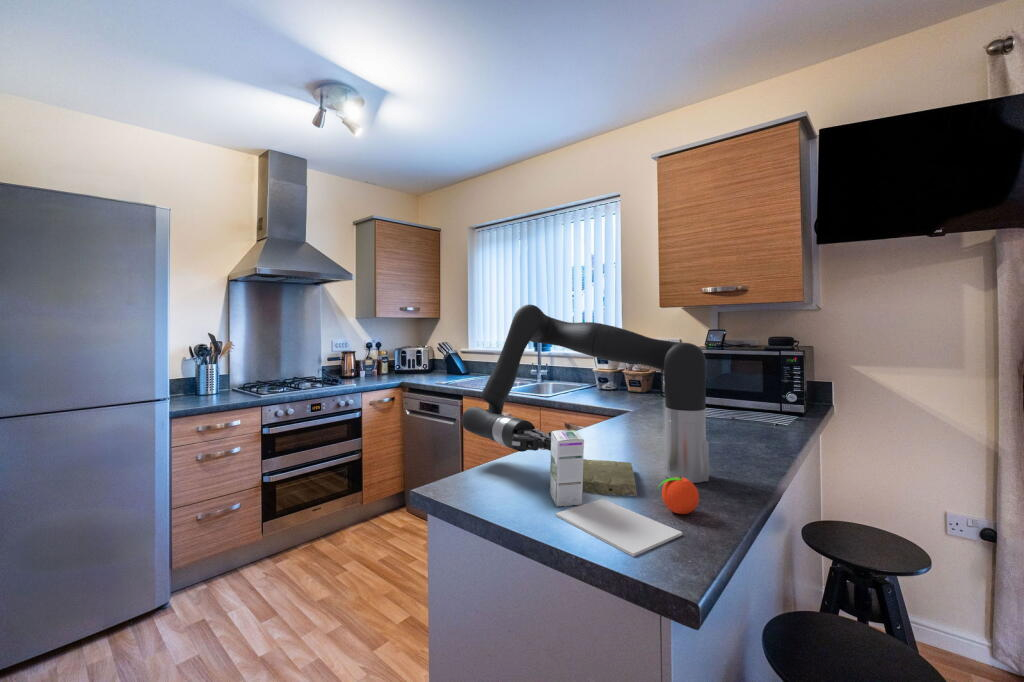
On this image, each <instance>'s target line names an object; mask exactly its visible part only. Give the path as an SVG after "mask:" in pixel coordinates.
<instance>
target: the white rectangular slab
mask: <svg viewBox="0 0 1024 682" xmlns="http://www.w3.org/2000/svg"><path fill="white" fill-rule="evenodd" d="M554 515H555V517H557V518H558V517H559V519H560V518H561V519H560V520H562V519H563V521H564V522H566V521H567V522H566V523H568V522H569V523H568V524H570V525H572V526H573V527H576V528H577V527H578V529H580V530H582V531H583V532H585V533H587V534H590V535H591V536H593V537H595V538H597V539H599V540H600V541H602V542H605V543H606V544H608V545H610V546H612V547H614V548H615V549H617V550H620V551H621V552H624V553H626V555H629V556H631V557H633V558H634V557H637V556H638V555H640V554H642V553H645V552H648V551H649V550H651V549H655V548H657V547H659V546H660V545H661V546H662V545H663V544H665V543H668V542H669V541H672V540H674V539H676V538H678V537H681V536H683V531H681V530H678V529H676V528H673V527H671V526H668V525H666V524H663V523H661V522H659V521H656V520H654V519H652V518H649V517H647V516H644V515H642V514H640V513H638V512H635V511H633V510H629V509H628V508H626V507H622V506H620V505H618V504H616V503H613V502H611V501H608V500H606V499H604V498H601V499H600V498H599V499H597V500H594V501H592V502H588V503H585V504H582V505H577V506H573V507H571V508H568V509H564V510H562V511H558V512H555V514H554Z"/></svg>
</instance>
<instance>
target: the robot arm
mask: <svg viewBox="0 0 1024 682" xmlns="http://www.w3.org/2000/svg"><path fill="white" fill-rule="evenodd" d="M530 342H531V343H537V344H544V345H545V344H546V345H552V346H557V347H558V346H559V347H561V348H565V349H567V350H570V351H574V352H575V353H580V354H584V355H587V356H590V357H593V358H596V359H601V360H604V361H608V362H615V363H616V362H617V363H624V364H634V365H641V366H647V367H651V368H655V369H658V370H661V371H663V381H664V384H663V385H664V386H663V388H664V400H665V401H664V403H665V406H664V409H665V412H664V413H665V416H664V417H665V420H664V422H665V423H664V425H665V428H664V431H665V434H664V435H665V440H664V441H665V452H664V453H665V458H664V459H665V467H664V469H665V471H664V472H665V474H664V475H665V477H667V479H668V478H674V477H682V478H686V479H688V480H689V481H691V482H692V483H693V484H698V483H703V482H709V481H710V480H709V479H710V477H709V475H710V474H709V472H710V470H709V467H710V466H709V465H710V463H709V462H710V461H709V460H710V459H709V458H710V457H709V456H710V455H709V452H710V451H709V450H710V446H709V445H710V444H709V441H708V440H707V438H706V434H707V433H706V427H707V426H706V421H707V420H706V419H707V418H706V411H707V410H706V409H707V408H706V407H707V406H706V401H707V399H706V398H707V396H706V395H707V394H706V392H707V391H706V388H707V387H706V386H707V385H706V382H707V381H706V379H707V378H706V377H707V376H706V375H707V374H706V373H707V372H706V371H707V370H706V369H707V367H706V356H705V354H704V351H703V350H702V349H701V348H700V347H699V346H698V345H696V344H693V343H690V342H678V341H669V340H662V339H656V338H651V337H648V336H645V335H642V334H639V333H637V332H634V331H630V330H629V329H625V328H622V327H621V328H620V327H617V326H614V325H609V324H606V323H599V322H591V321H588V322H587V321H584V322H570V321H564V320H561V319H556V318H554V317H551V316H549V315H547V314H545V313H544V312H543V311H542V309H540V308H539V307H538V306H537V305H533V304H525V305H522V306H521V307H519V309H517V310H516V312H515V313H514V315H513V317H512V321H511V324H510V326H509V330H508V334H507V337H506V339H505V342H504V344H503V346H502V349H501V352H500V355H499V356H498V359H497V362H496V364H495V366H494V368H493V369H492V372H491V374H490V376H489V377H488V380H487V382H486V384H485V385H484V387H483V390H482V391H481V394H480V396H481V398H482V400H484V401H485V402H486V403H487V404H488V409H487V410H486V409H484V408H481V407H478V406H470V407H469V408H467V409H466V410H465V411H464V412H463V414H462V415H461V426H462V427H463V429H465V431H467V432H468V433H469V432H470V433H471V434H475V435H477V436H479V437H481V438H485V439H489V440H490V441H492V442H495V443H499V444H500V445H501V446H503V447H507V448H509V449H512V450H514V451H517V452H520V453H521V452H526V451H536V452H537V451H539V450H541V451H545V450H547V451H550V452H551V432H552V431H555V430H550V431H548V433H547V432H545V431H542V430H541V429H538V428H536V427H535V425H534V424H533V423H532V422H531V421H529V420H527V419H522V418H518V417H515V416H510V415H509V416H508V415H502V414H503V411H504V406H505V403H506V400H507V398H508V396H509V395H510V393H511V390H512V389H513V387H514V384H515V382H516V378H517V376H518V373H519V367H520V363H521V361H522V360H521V359H522V357H523V355H524V352H525V350H526V349H527V346H528V344H529V343H530Z"/></svg>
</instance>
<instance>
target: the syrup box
mask: <svg viewBox="0 0 1024 682" xmlns="http://www.w3.org/2000/svg"><path fill="white" fill-rule="evenodd" d="M551 431H552V430H551ZM584 445H585V439H584V438H583V437H582V435H580V434H579V432H578V431H577V430H576V429H560V430H554V431H552V432H551V451H550V466H549V467H550V470H549V471H550V475H549V477H550V479H549V495H550V496H551V498H552V500H553V502H554V504H555V506H556V507H559V506H560V507H561V506H564V507H573V506H572V505H577V506H581V505H583V504H582V503H583V492H582V488H583V459H584V450H585V449H584V448H585V446H584ZM570 505H571V506H570Z"/></svg>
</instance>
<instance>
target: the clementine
mask: <svg viewBox="0 0 1024 682" xmlns="http://www.w3.org/2000/svg"><path fill="white" fill-rule="evenodd" d="M662 485H663V486H662ZM661 486H662V488H661V499H662V501H663V504H664V505H665V506H666V508H668V509H669V511H672V512H673V513H676V514H679V515H688V514H690V513H692V512H694V511H695V510H696V508H697V507H698V505H699V502H700V495H699V491H698V488H697V486H695V483H692V482H691V481H689V480H688V479H686V478H682V477H674V478H668V477H667V478H666V479H664V480H663V481H661V483H660V484H659V485H658V488H657V490H659V488H660V487H661Z"/></svg>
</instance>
